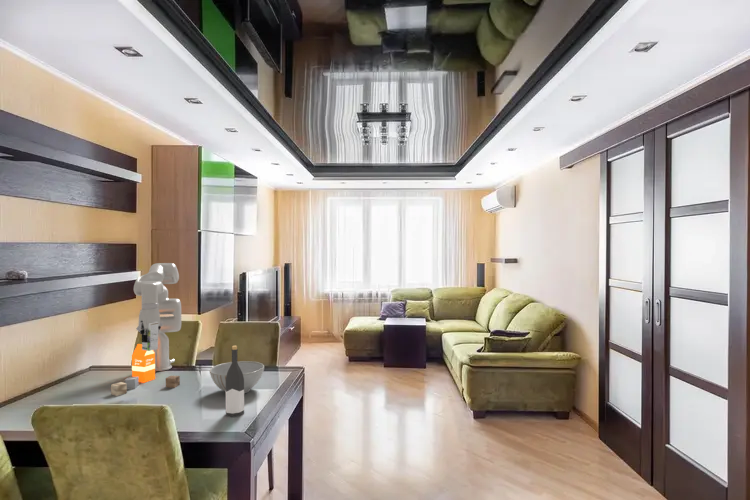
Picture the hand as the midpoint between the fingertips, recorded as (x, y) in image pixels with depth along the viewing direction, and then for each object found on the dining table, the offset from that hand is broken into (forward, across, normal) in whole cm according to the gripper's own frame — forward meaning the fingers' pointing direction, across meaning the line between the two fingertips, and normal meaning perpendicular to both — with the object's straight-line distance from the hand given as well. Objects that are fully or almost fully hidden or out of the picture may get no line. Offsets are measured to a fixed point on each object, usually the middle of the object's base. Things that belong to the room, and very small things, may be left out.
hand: (150, 340), depth 233 cm
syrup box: (+5, 0, 0) cm, 5 cm away
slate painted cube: (+26, +1, -12) cm, 28 cm away
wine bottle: (+25, +13, +64) cm, 70 cm away
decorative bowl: (+26, -13, +45) cm, 53 cm away
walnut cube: (+26, -8, +7) cm, 28 cm away
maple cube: (+26, +11, -9) cm, 29 cm away
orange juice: (+26, -11, -17) cm, 33 cm away
